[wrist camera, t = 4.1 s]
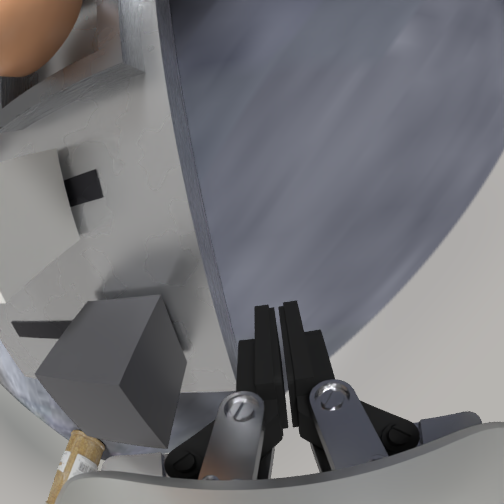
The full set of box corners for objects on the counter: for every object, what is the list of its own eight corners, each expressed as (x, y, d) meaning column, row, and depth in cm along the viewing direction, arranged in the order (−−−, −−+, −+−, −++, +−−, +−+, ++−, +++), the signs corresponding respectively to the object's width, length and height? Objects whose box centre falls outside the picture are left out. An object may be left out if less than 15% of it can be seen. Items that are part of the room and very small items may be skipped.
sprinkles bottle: (66, 425, 23) (32, 511, 11) (95, 432, 23) (63, 528, 10) (84, 444, 25) (57, 524, 12) (112, 451, 25) (88, 538, 12)
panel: (164, -48, 7) (137, -91, 3) (240, 359, 17) (237, 419, 13) (-43, 85, 8) (-83, 90, 4) (38, 357, 18) (14, 392, 14)
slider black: (161, 294, 11) (118, 385, 7) (187, 361, 13) (167, 449, 8) (87, 301, 12) (34, 374, 7) (119, 362, 13) (87, 436, 9)
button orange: (85, -39, 4) (43, -69, 1) (83, 43, 6) (23, 23, 3) (5, 15, 4) (-41, 6, 1) (1, 95, 6) (-55, 101, 3)
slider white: (56, 148, 9) (-37, 174, 4) (80, 239, 10) (6, 303, 6) (3, 176, 9) (-73, 209, 4) (25, 252, 11) (-39, 305, 6)
